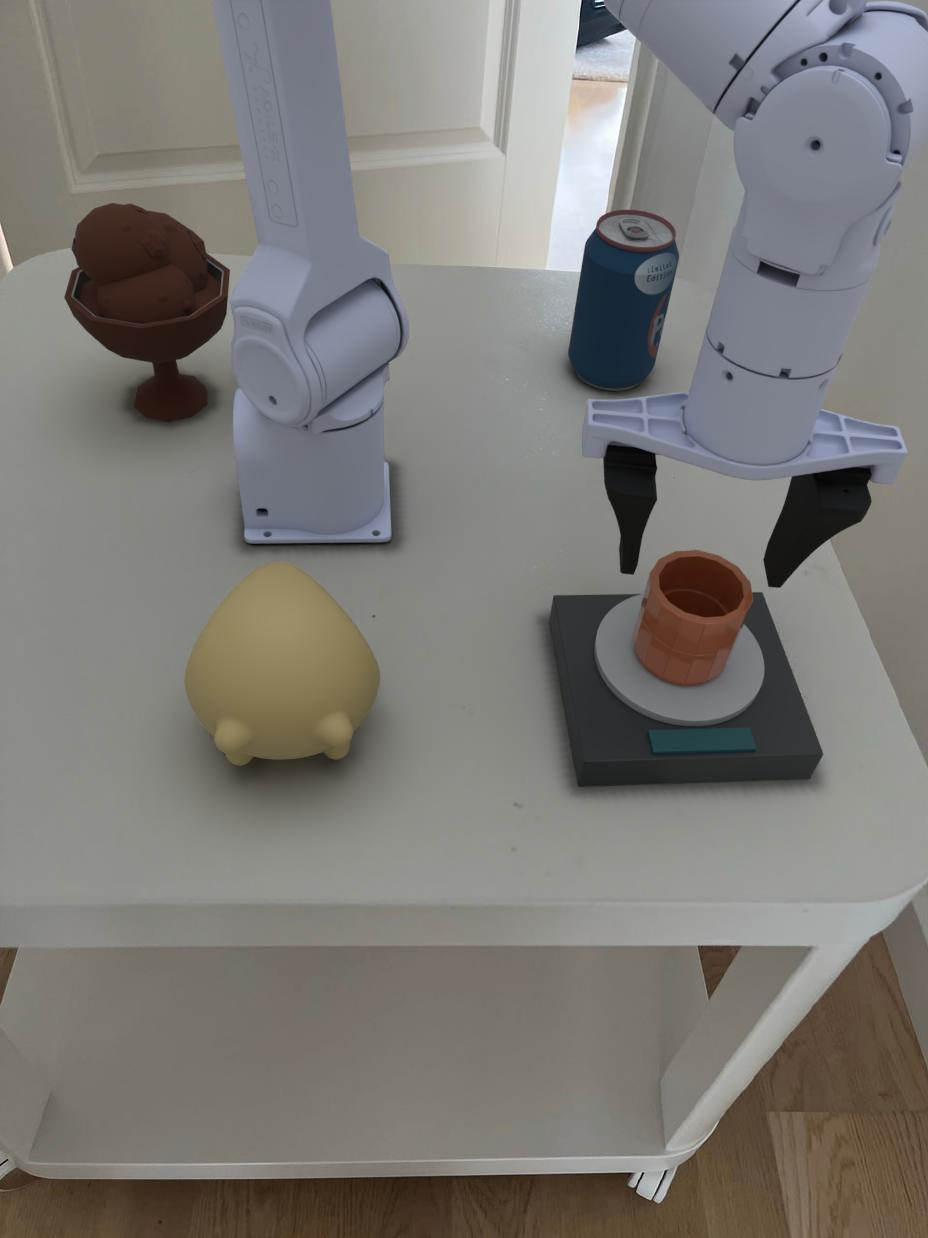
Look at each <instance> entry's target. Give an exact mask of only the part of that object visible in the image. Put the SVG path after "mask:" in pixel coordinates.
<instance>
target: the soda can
mask: <svg viewBox="0 0 928 1238" xmlns="http://www.w3.org/2000/svg"><path fill="white" fill-rule="evenodd" d="M676 236H677V230H676V228H675V226H674V225H673V224H672V223H671V222H670V221H669V220H667V219H666V218H665V217H662V216H660V215H658V214H655V213H652V212H649V211H644V210H639V209H618V210H612V211H609V212H606V213H604V214H602V215H601V216H599V218H598V219H597V222H596V225H595V228H594V230H593V231H592V232H591V234H589V236H588V237H587V239H586V241H585V243H584V248H583V255H582V261H581V268H580V273H579V279H578V287H577V293H576V294H577V295H576V300H575V305H574V313H573V318H572V324H571V330H570V336H569V337H570V338H569V344H568V350H567V351H568V352H567V353H568V359H569V361H570V364H571V366H572V368H573V370H574V372H575V374H576V376H577V377H578V378H579V379H580V380H581V381H582V382H584V383H585V384H586V385H588V386H591V387H593V388H595V389H599V390H603V391H611V392H619V391H627V390H630V389H633V388H634V387H637V386H638V385H639V384H640V383H642V382H643V381H644V380H645V379H646V378H647V377H648V376H649V375H650V374H651V372H652V371H653V369H654V367H655V365H656V360H657V356H658V352H659V348H660V343H661V339H662V335H663V330H664V326H665V321H666V318H667V313H668V310H669V309H668V308H669V304H670V301H671V300H670V299H671V296H672V291H673V286H674V282H675V278H676V273H677V268H678V265H679V260H680V253H679V252H680V251H679V249H678V245H677V241H676Z"/></svg>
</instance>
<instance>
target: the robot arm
mask: <svg viewBox="0 0 928 1238" xmlns="http://www.w3.org/2000/svg"><path fill="white" fill-rule="evenodd" d="M211 4H212V5H211V6H212V10H213V16H214V20H215V25H216V31H217V36H218V41H219V46H220V51H221V57H222V62H223V67H224V72H225V77H226V82H227V87H228V93H229V98H230V103H231V108H232V113H233V114H232V115H233V119H234V124H235V129H236V134H237V139H238V145H239V149H240V156H241V160H242V166H243V170H244V177H245V180H246V181H245V182H246V186H247V191H248V196H249V201H250V206H251V211H252V217H253V223H254V227H255V232H256V233H255V234H256V238H257V245H256V248H255V250H254V253H253V255H252V256H251V258H250V260H249V262H248V264H247V266H246V268H245V269H244V271H243V272H242V274H241V277H240V278H239V280H238V282H237V284H236V286H235V287H234V289H233V291H232V294H231V296H230V298H229V305H230V309H231V314H232V319H233V335H232V339H231V344H230V360H231V364H232V369H233V374H234V376H235V380H236V381H237V383H238V386H239V387H238V388H236V389H235V391H234V398H233V406H232V407H233V411H232V434H233V435H232V436H233V451H234V460H235V461H234V462H235V468H236V475H237V482H238V484H237V485H238V491H239V496H240V504H241V510H242V518H243V525H244V533H243V536H244V540H245V542H246V543H247V544H253V545H254V544H325V543H326V544H340V543H342V544H343V543H346V544H347V543H387V542H389V541H391V539H392V514H391V513H392V512H391V490H390V489H391V488H390V484H391V483H390V464H389V463H388V462H387V461H385V385H386V383H388V382H389V381H390V363H391V362H392V361H394V360H396V359H397V358H398V357H400V356H401V354H402V353H403V352H404V351H405V349H406V347H407V345H408V341H409V338H410V337H409V336H410V324H409V317H408V313H407V310H406V307H405V304H404V302H403V301H402V298H401V297H400V296H401V295H400V294H399V292H398V290H397V287H396V285H395V283H394V279H393V276H392V268H391V259H390V254H389V253H388V251H387V250H386V249H384V248H382V247H381V246H380V245H378V244H377V243H376V242H373V241H372V240H370V239H368V238H366V237H365V236H362V235H361V234H360V231H359V225H358V215H357V207H356V199H355V191H354V184H353V183H354V182H353V175H352V167H351V166H352V165H351V158H350V157H351V156H350V150H349V142H348V134H347V133H348V132H347V125H346V118H345V117H346V116H345V110H344V101H343V100H344V99H343V93H342V86H341V76H340V67H339V60H338V52H337V45H336V34H335V29H334V28H335V27H334V19H333V12H332V10H333V9H332V4H331V0H211ZM603 4H604V7H605V9H607V11H608V12H609V13H610V14H611V15H613V17H614V18H615V19H616V20H617V21H619V22H620V23H621V25H622V26H623V27H624V28H625V29H626V30H627V31H628V32H629V33H631V34H632V36H633V37H635V38H636V40H638V41H639V43H641V44H642V45H643V47H645V49H647V50H648V52H649V53H651V54H652V55H653V56H654V58H655V59H657V60H658V61H659V62H660V63H661V64H662V65H663V66H664V67H665V68H666V69H667V70H668V71H669V72H670V73H671V74H672V75H673V76H674V77H675V78H676V79H677V80H678V81H679V82H680V83H681V84H682V85H683V86H684V87H685V88H686V89H687V90H688V91H689V92H690V93H691V94H692V95H693V96H694V97H695V98H696V99H697V100H698V101H699V102H700V103H701V104H702V105H703V106H704V107H705V108H707V110H708V111H710V113H712V114H713V115H715V118H717V119H718V120H719V121H720V122H721V123H722V124H723V126H725V127H726V128H728V129H729V130H731V131H732V132H733V156H734V163H735V167H736V171H737V174H738V177H739V180H740V182H741V184H742V186H743V189H744V194H743V197H742V202H741V205H740V209H739V213H738V215H737V219H736V221H735V223H734V225H733V228H732V231H731V235H730V238H729V243H728V247H727V251H726V254H725V258H724V261H723V265H722V270H721V273H720V275H719V281H718V285H717V288H716V292H715V295H714V300H713V303H712V307H711V310H710V314H709V318H708V321H707V325H706V327H705V331H704V335H703V338H702V342H701V346H700V350H699V354H698V358H697V360H696V361H697V362H696V365H695V368H694V373H693V377H692V379H691V384H690V388H689V390H685V391H676V392H670V393H668V392H667V393H661V394H653V395H646V396H638V397H629V398H619V399H597V398H588V399H587V400H586V406H585V410H584V411H585V412H584V415H583V423H582V428H581V456H582V457H583V458H593V459H602V461H603V483H604V488H605V493H606V497H607V499H608V501H609V503H610V505H611V508H612V511H613V513H614V515H615V518H616V522H617V525H618V526H617V527H618V529H619V535H620V536H619V545H618V554H619V572H620V573H621V574H622V575H631V576H632V575H633V576H634V575H635V573H636V570H637V567H638V564H639V560H640V553H641V547H642V541H643V537H644V533H645V530H646V527H647V524H648V521H649V519H650V516H651V515H652V512H653V509H654V507H655V505H656V503H657V501H658V493H657V481H656V474H657V472H658V465H657V456H663V457H666V458H669V459H672V460H674V461H678V462H682V463H685V464H688V465H691V466H695V467H697V468H701V469H703V470H707V471H710V472H714V473H717V474H720V475H723V476H726V477H730V478H734V479H738V480H746V481H772V480H778V479H784V478H785V479H786V478H790V482H789V485H788V489H787V493H786V496H785V499H784V503H783V505H782V509H781V511H780V513H779V516H778V518H777V520H776V523H775V525H774V527H773V529H772V532H771V533H770V537H769V539H768V542H767V544H766V548H765V551H764V556H763V566H764V571H765V576H766V582H767V586H768V588H775V589H781V588H782V587H783V585H784V584H785V583H786V582H787V581H788V580H789V578H790V577H791V576H792V575H793V573H794V572H795V571H796V570H797V569H798V568H799V567H800V566H801V565H802V564H803V563H804V562H805V561H806V560H807V559H808V558H809V557H810V556H811V555H812V554H813V553H814V552H815V551H816V550H818V549H819V548H820V547H821V546H822V545H824V543H826V542H828V541H829V540H830V539H832V538H834V536H836V535H838V534H840V533H841V532H843V531H845V530H847V529H848V528H851V527H853V526H855V525H857V524H859V523H862V521H863V520H864V518H865V517H866V515H867V513H868V511H869V509H870V507H871V505H872V502H873V501H872V496H871V493H870V490H869V487H868V484H869V482H872V484H873V483H874V484H881V485H893V484H894V483H895V481H896V478H897V477H898V474H899V472H900V470H901V469H902V466H903V464H904V462H905V460H906V459H907V456H908V454H909V452H908V448H907V446H906V443H905V441H904V438H903V435H902V432H901V430H900V427H899V426H897V425H896V426H895V425H890V424H889V425H888V424H881V423H875V422H871V421H866V420H863V419H858V418H855V417H851V416H848V415H845V414H842V413H837V412H835V411H834V412H833V411H831V410H827V409H824V408H822V407H823V405H824V402H825V400H826V397H827V394H828V392H829V389H830V387H831V384H832V382H833V379H834V376H835V373H836V372H837V368H838V366H839V363H840V361H841V359H842V356H843V354H844V351H845V349H846V346H847V344H848V341H849V339H850V336H851V333H852V331H853V328H854V326H855V323H856V320H857V318H858V315H859V313H860V310H861V308H862V305H863V302H864V300H865V297H866V294H867V292H868V290H869V287H870V285H871V282H872V279H873V277H874V275H875V271H876V269H877V266H878V264H879V261H880V256H881V251H882V241H883V239H884V238H886V235H887V233H888V232H889V229H890V227H891V224H892V222H893V218H894V210H895V207H896V205H897V203H898V199H899V197H900V195H901V191H902V189H903V183H902V182H901V180H900V179H901V177H902V176H903V175H904V173H905V172H906V171H907V170H908V169H909V168H910V167H911V166H912V165H913V163H915V162H916V160H917V159H918V158H920V156H921V155H922V154H923V153H924V152H925V151H926V149H927V148H928V15H927V13H926V12H925V11H924V10H922V9H920V8H918V7H916V6H913V5H911V4H908V3H904V2H900V1H894V0H891V1H890V0H877V1H869V0H603Z"/></svg>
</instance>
